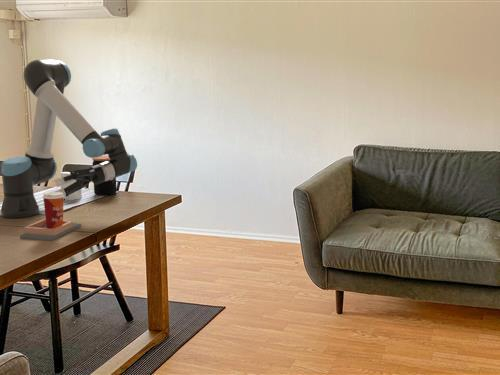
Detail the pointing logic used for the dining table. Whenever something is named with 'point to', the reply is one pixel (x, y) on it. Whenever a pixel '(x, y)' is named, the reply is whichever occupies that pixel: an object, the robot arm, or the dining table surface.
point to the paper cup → (53, 209)
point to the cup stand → (48, 230)
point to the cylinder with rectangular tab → (70, 197)
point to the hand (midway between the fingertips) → (52, 190)
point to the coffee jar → (106, 186)
